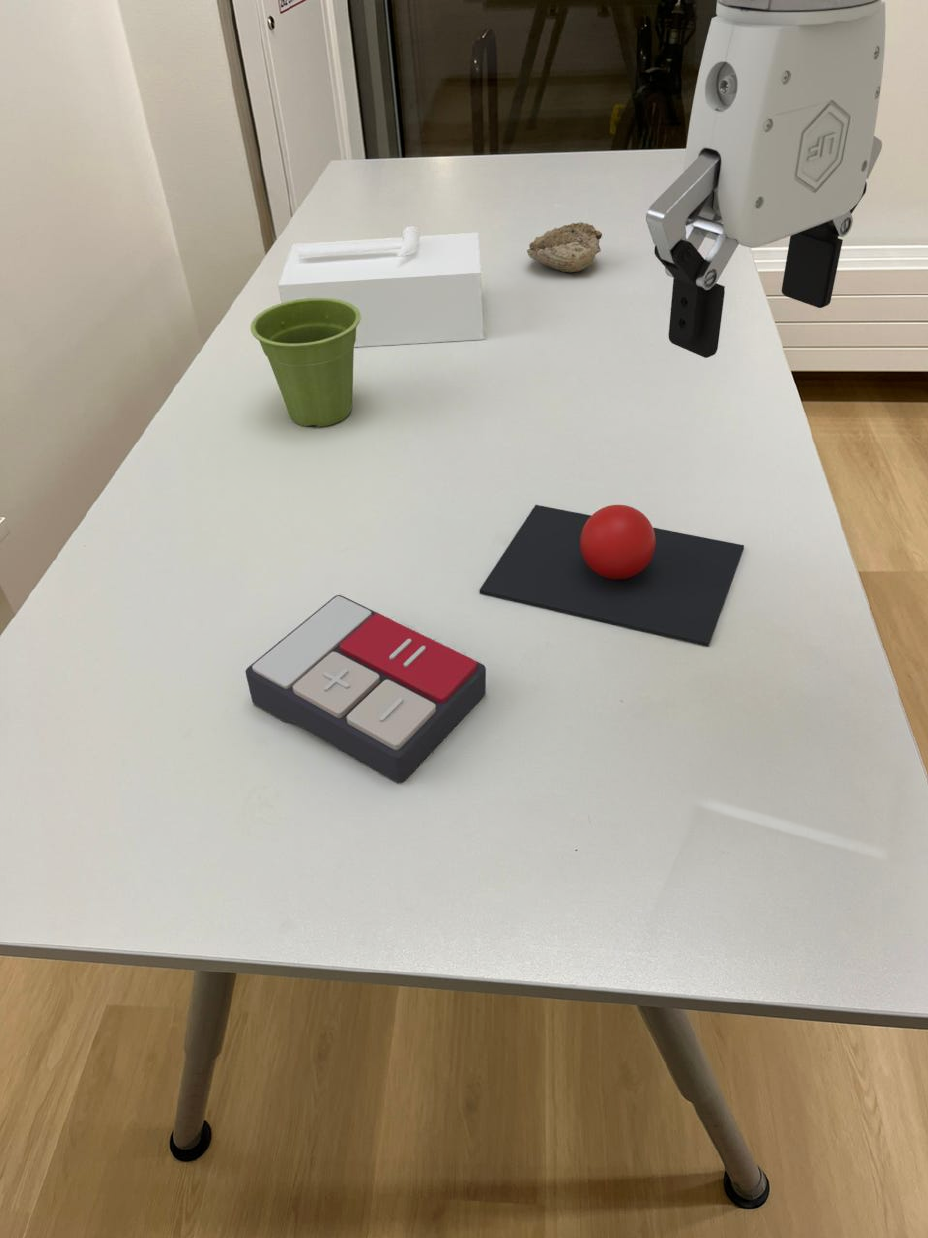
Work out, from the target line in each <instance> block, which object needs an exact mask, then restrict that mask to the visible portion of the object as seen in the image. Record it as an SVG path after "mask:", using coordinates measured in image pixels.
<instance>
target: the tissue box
mask: <svg viewBox="0 0 928 1238" xmlns="http://www.w3.org/2000/svg"><path fill="white" fill-rule="evenodd" d="M481 269H482V268H481V256H480V241H479V232H464V233H463V232H462V233H461V232H460V233H449V234H447V233H446V234H430V235H420V230H419V229H418V228H417V227H416V226H411V225H410V226H407V227H405V228H404V229H403V230H402V236H401V237H385V238H367V239H353V240H337V241H335V240H334V241H321V242H320V241H319V242H304V243H292V245H291V247H290V251H289V253H288V255H287V259H286V262H285V265H284V267H283V270H282V273H281V276H280V279H279V281H278V285H277V287H278V291H279V296H280V302H281V303H284V302H288V301H292V300H298V299H306V298H330V299H337V300H342V301H345V302H348V303H350V304H352V305H353V306H355V307H356V308H357V309H358V310H359V312H360V315H361V319H360V322H359V324H358V325H357V327H356V341H355V344H354V348H365V347H366V348H367V347H379V346H380V347H383V346H398V345H400V346H401V345H415V344H431V343H448V342H449V343H451V342H465V341H480V340H481V341H482V340H485V334H484V313H483V312H484V311H483V291H482V289H483V288H482V272H481V271H482V270H481ZM281 303H280V304H281Z"/></svg>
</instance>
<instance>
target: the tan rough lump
mask: <svg viewBox="0 0 928 1238" xmlns="http://www.w3.org/2000/svg"><path fill="white" fill-rule="evenodd" d="M602 237H603V233H602V231H600V230H598V229H596V227H595V226H594V225H593V224H589V223H587V222H586V223H584V222H582V221H580V222H576V223H575V222H572V223H570V224H566V225H562V226H560V227H554V228H553V229H551V230H547V231H546V232H545V233H544V234H543V235H540V236H535V239H534V240H533V241H532V242H530V243H529V244H528V247H529V248H528V249H526V252H527V256H528V257H529V258H531V259H532V260H535V261H536V262H538V263H540V264H541V265H545V266H547V267H549V268H552V269H554V270H557V271H560V272H562V273H576V272H580V271H583V270H584V269H586V268H588V267H589V266H590V265H592V264H593V262H594V261H595V259H596V256H597V254H598V253H600V252H601V250H602V249H601V246H600V240H601V239H602Z"/></svg>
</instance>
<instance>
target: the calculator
mask: <svg viewBox="0 0 928 1238" xmlns="http://www.w3.org/2000/svg"><path fill="white" fill-rule="evenodd" d="M245 676H246V677H245V678H246V680H247V685H248V689H249V693H250V698H251V702H252V704H253V705H254V706H256V707H258V708H259V709H262V710H263V711H265V712H267V713H269V714H270V715H271V716H274V717H276V718H277V719H279V720H280V721H282V722H284V723H293V724H296V725H297V726H299V727H300V728H302V729H303V730H305V731H307V732H309V733H310V734H312V735H315V736H316V737H318V738H319V739H321V740H323V741H324V742H326V743H328V744H329V745H331V746H333V747H335V748H337V749H338V750H340V751H341V752H344V753H345V754H347V755H349V756H350V757H352V758H354V759H355V760H356V761H359V762H360V763H362V764H364V765H365V766H367V767H370V768H371V769H373V770H374V771H376V772H378V773H379V774H381V775H383V776H384V777H387V778H388V779H390V780H391V781H394V782H396V783H399V784H401V783H404V782H405V781H407V779H408V778H409V777H410V776H411V775H412V774H413V773H414V772H415V770H416V769H418V767H419V766H420V765H421V764H422V763H423V762H424V761H425V759H426V758H427V757H428V756H429V755H430V754H431V753H432V752H433V751H434V750H436V748H437V747H438V746H439V745H440V744H441V742H443V741H444V739H445V738H446V737H447V736H449V734H450V733H451V732H452V731H453V730H454V729H455V727H456V726H457V725H459V723H460V722H461V721H462V720H463V719H464V718H465V717H466V716H467V715H468V714H469V713H470V712H471V710H473V708H475V706H476V705H477V704H478V703H479V702H480V701H481V700H482V699H483V698H484V697H485V695H486V693H487V691H486V690H487V684H486V683H487V667H486V666H485V664H484V663H481V662H480V661H477V660H476V659H473V658H471V657H469V656H467V655H465V654H463V653H460V652H459V651H457V650H455V649H453V648H450V647H449V646H446V645H444V644H442V643H440V642H438V641H436V640H434V639H433V638H430V637H429V636H427V635H424V634H422V633H421V632H418V631H415V630H413V629H412V628H409V627H408V626H405V625H404V624H401V623H399V622H398V621H395V620H393V619H391V618H390V617H387V616H385V615H383V614H381V613H379V612H377V611H374V610H373V609H370V608H369V607H367V606H364V605H362V604H360V603H358V602H356V601H355V600H352V599H350V598H348V597H346V596H344V595H342V594H336V595H335V596H333V597H332V598H331V599H329V600H328V601H326V603H325V604H323V605H322V606H321V607H319V608H318V609H317V610H316V611H315V612H314V613H313V614H311V615H310V616H308V617H307V618H306V619H305V620H304V621H303V622H301V623H300V624H299V625H297V627H295V628H294V629H293V630H292V631H290V632H289V633H288V634H286V635H285V636H284V637H283V638H281V639H280V641H278V642H277V643H276V644H275V645H273V646H272V647H271V648H270V649H268V650H267V651H266V652H265V653H264V654H263V655H261V656H260V657H259V658H257V659H256V660H255V661H254V662H253V663H251V664H250V665H249V666H247V668H246V669H245Z"/></svg>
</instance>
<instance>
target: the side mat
mask: <svg viewBox="0 0 928 1238" xmlns="http://www.w3.org/2000/svg"><path fill="white" fill-rule="evenodd" d="M591 516H592V514H591V515H590V514H586V513H581V512H577V511H576V512H575V511H571V510H565V509H560V508H556V507H555V508H554V507H550V506H545V505H541V504H540V505H539V504H535V505H534V506H533V508H532V509H531V511H530V512H529V514H528V516H527V517H526V519H525V520H524V521H523V523H522V525H520V528H519V529H518V530H517V532H516V534H515V535H514V537H513V538H512V540H511V541H510V543H509V544H508V546H507V547H506V549H505V551H504V552H503V554H502V555H501V557H500V558H499V559H498V561H497V562H496V564H495V566H494V567H493V568H492V570H491V571H490V573H489V575H488V576H487V577H486V579H485V581H484V582H483V584H482V585H481V587H480V588H479V594H482V595H486V596H489V597H493V598H497V599H498V598H499V599H502V600H506V601H510V602H515V603H519V604H524V605H528V606H532V607H536V608H541V609H545V610H550V611H554V612H558V613H562V614H567V615H571V616H575V617H579V618H583V619H588V620H593V621H596V622H601V623H606V624H609V625H614V626H618V627H623V628H627V629H631V630H636V631H639V632H645V633H648V634H652V635H657V636H662V637H665V638H669V639H673V640H678V641H682V642H687V643H691V644H695V645H699V646H704V647H709V646H710V644H711V640H712V638H713V636H714V632H715V629H716V627H717V624H718V621H719V618H720V616H721V613H722V610H723V607H724V604H725V601H726V599H727V596H728V594H729V590H730V588H731V585H732V582H733V580H734V578H735V577H734V576H735V574H736V571H737V568H738V566H739V563H740V559H741V557H742V554H743V552H744V548H745V545H744V544H739V543H735V542H730V541H724V540H721V539H720V540H718V539H714V538H708V537H704V536H698V535H693V534H688V533H683V532H678V531H673V530H668V529H663V528H659V527H653V529H654V532H655V539H656V544H655V551H654V554H653V556H652V558H651V560H650V562H649V563H648V565H647V566H646V567H645V568H644V569H643V570H642V571H641V572H639V573H638V574H636V575H634V576H632V577H630V578H626V579H609V578H605V577H603V576H601V575H599V574H597V573H596V572H594V571H593V570H592V569H591V568H590V567H589V566H588V565H587V563H586V562H585V560H584V558H583V555H582V552H581V548H580V538H581V533H582V530H583V527H584V525H585V523H586V522H587V520H588V519H589V518H590V517H591Z"/></svg>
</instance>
